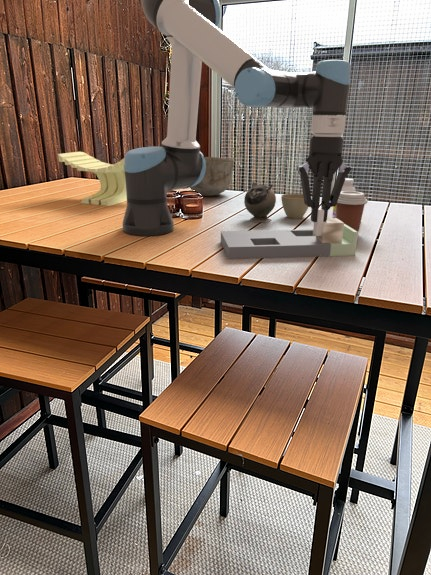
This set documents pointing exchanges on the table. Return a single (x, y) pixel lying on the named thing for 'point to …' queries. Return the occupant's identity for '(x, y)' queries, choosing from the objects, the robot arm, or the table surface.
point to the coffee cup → (351, 208)
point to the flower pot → (294, 205)
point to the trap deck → (285, 244)
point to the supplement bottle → (346, 187)
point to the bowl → (215, 176)
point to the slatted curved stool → (100, 177)
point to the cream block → (332, 231)
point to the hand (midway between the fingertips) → (317, 234)
